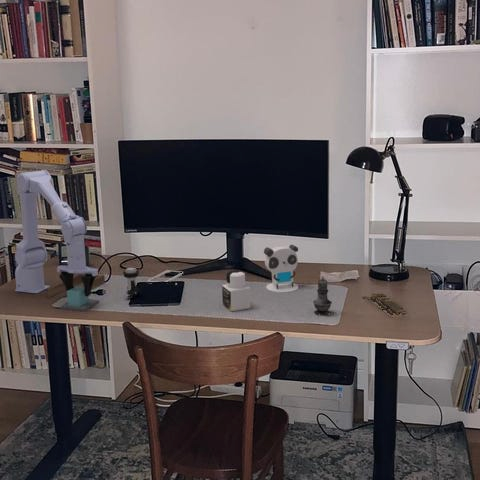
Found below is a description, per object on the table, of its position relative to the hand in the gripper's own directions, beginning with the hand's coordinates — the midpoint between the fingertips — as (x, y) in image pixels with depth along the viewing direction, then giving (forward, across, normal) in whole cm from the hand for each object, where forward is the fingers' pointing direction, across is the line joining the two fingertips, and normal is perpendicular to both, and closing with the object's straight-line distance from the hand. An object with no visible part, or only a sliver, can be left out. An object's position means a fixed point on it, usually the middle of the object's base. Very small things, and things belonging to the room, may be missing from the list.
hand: (79, 294), depth 220 cm
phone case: (+5, +13, +37) cm, 40 cm away
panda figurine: (+4, +58, +39) cm, 70 cm away
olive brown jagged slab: (+5, +96, +30) cm, 101 cm away
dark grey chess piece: (+4, +78, +18) cm, 80 cm away
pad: (+4, 0, 0) cm, 4 cm away
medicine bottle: (+4, +50, +15) cm, 52 cm away
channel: (+4, -11, +14) cm, 19 cm away
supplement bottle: (+4, -26, +40) cm, 48 cm away
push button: (+4, +12, +13) cm, 18 cm away
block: (+3, 0, -1) cm, 3 cm away
